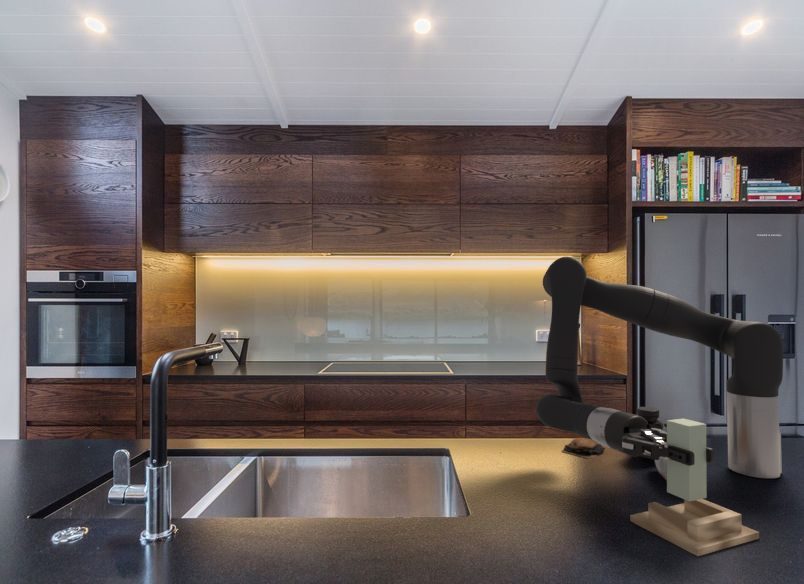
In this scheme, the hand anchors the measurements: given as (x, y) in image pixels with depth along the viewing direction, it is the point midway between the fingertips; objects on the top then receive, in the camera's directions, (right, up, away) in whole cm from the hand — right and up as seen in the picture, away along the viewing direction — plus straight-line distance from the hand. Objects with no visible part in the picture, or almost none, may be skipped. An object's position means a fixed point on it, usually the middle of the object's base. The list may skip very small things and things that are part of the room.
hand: (702, 457), depth 75 cm
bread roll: (-2, -14, +43) cm, 45 cm away
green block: (-1, -7, +2) cm, 8 cm away
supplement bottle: (+11, -14, +37) cm, 41 cm away
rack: (-1, -12, +2) cm, 13 cm away
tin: (+8, -13, +23) cm, 28 cm away
